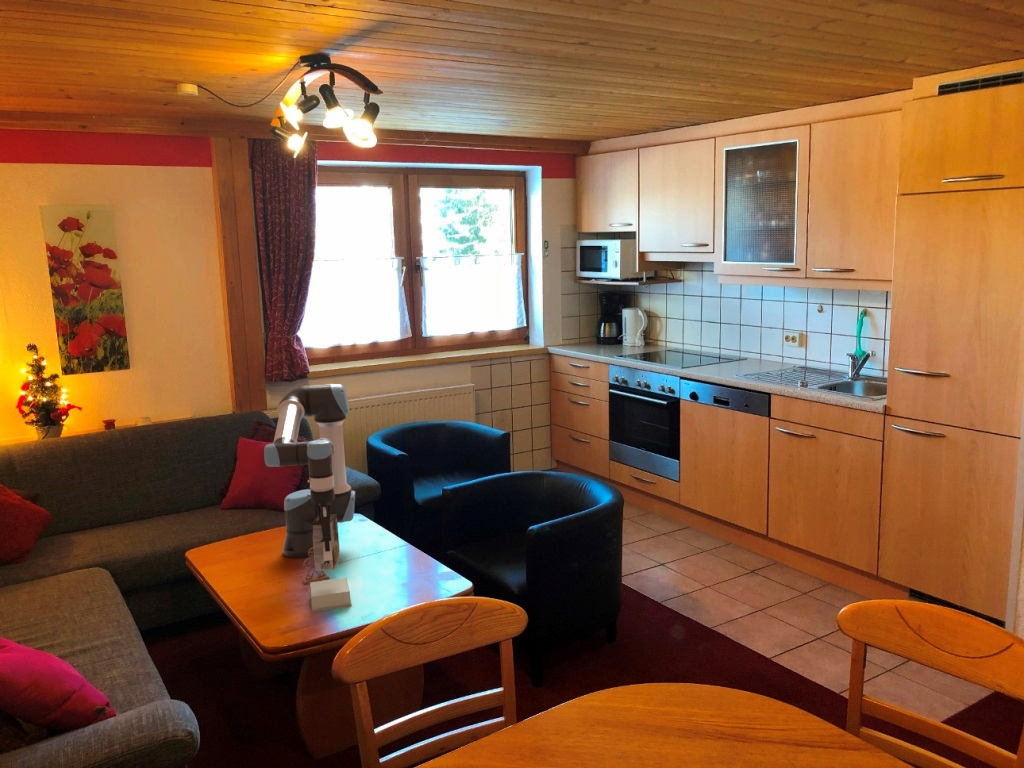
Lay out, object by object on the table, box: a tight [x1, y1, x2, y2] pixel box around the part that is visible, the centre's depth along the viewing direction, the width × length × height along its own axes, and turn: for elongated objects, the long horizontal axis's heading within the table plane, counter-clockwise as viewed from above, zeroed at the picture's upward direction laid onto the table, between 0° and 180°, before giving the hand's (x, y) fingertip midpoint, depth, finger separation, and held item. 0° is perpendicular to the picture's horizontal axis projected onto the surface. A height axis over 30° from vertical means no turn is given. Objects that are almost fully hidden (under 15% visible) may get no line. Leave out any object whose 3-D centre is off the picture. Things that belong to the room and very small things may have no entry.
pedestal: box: [309, 577, 353, 613], centre depth 268 cm, size 13×13×5 cm
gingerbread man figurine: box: [301, 547, 330, 586], centre depth 285 cm, size 9×4×12 cm, turn 121°
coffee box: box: [311, 514, 341, 572], centre depth 265 cm, size 9×6×16 cm
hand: (327, 554), depth 266 cm, fingers closed on coffee box, 10 cm apart
